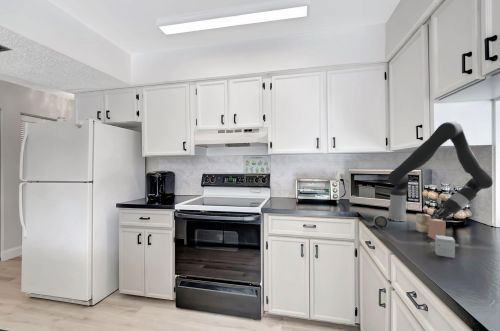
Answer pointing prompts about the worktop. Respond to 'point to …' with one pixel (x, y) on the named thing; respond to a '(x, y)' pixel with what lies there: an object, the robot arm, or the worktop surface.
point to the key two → (436, 228)
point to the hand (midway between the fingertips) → (429, 224)
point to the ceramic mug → (379, 221)
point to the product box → (445, 246)
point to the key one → (422, 222)
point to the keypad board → (434, 243)
